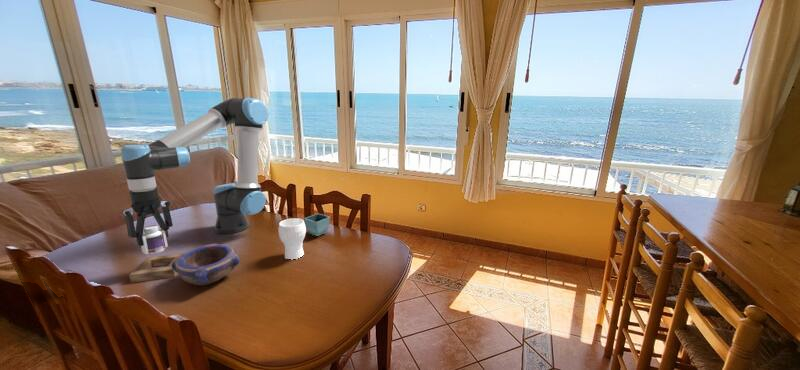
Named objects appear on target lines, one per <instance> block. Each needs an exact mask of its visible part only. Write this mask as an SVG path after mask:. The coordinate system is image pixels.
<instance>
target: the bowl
mask: <svg viewBox="0 0 800 370" xmlns="http://www.w3.org/2000/svg"><path fill="white" fill-rule="evenodd" d="M184 253H185V254H183V255H182V256H180V257H179V258H177V259H176V260H175V261H174V262H173V263H172V268H173V269H174V270H175V271H176V272H178V273H177V275H179V277H180V278H181V280H183V281H185V282H186V283H188V284H191V285H196V286H207V285H209V284H210V285H211V284H213V283H215V282H219V281H221V280H222V278H225V277H226V276H227V275H229V273H230V272H231V271H232V270H234V268H236V267H237V266H238V265H239V264H240V262H241V260H240V258H241V257H240V256H239V255H238V254H237V253H235V251H234V249H233V248H232V247H230V246H228V245H226V244H220V243H212V244H206V245H202V246H198V247H195V248H193V249H190V250H188V251H186V252H184Z"/></svg>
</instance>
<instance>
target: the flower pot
mask: <svg viewBox="0 0 800 370" xmlns="http://www.w3.org/2000/svg"><path fill="white" fill-rule="evenodd" d="M330 218H331V217H330V216H328V215H324V214H323V213H322V214H321V213H316V214H312V215H310V216H307V217H304V219H303V220H304V223H305V226H306V231H307V232H308V233H309V235H310V234H312V235H311V236H313V235H315V236H319V235H321V234H324V233H325V234H326V233H327V231H328V230H329V227H330V220H331V219H330ZM325 234H324V235H325ZM315 236H314V237H315ZM321 236H322V235H321ZM319 237H320V236H319Z"/></svg>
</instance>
